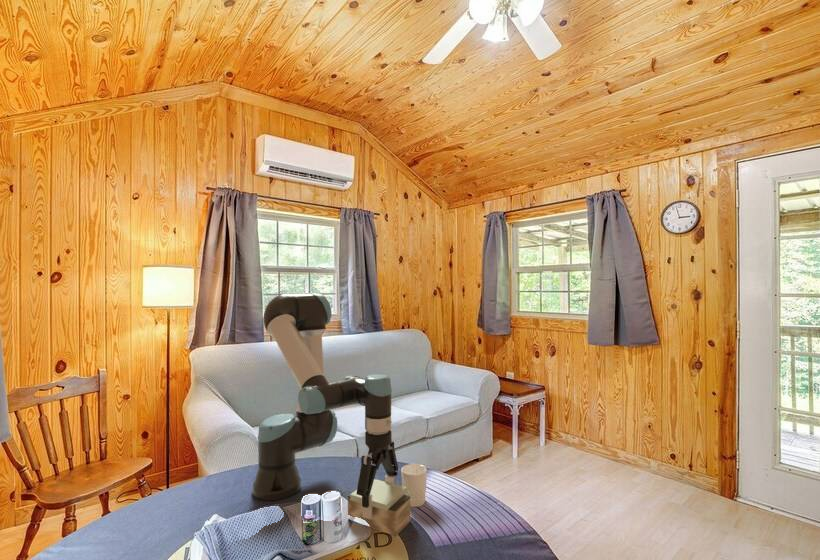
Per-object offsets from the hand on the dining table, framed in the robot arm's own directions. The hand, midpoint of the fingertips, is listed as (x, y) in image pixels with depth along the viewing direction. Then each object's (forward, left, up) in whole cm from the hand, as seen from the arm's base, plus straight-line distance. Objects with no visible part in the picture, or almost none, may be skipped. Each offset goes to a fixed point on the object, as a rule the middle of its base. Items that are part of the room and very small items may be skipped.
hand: (378, 507), depth 118 cm
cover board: (0, 0, +3) cm, 3 cm away
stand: (0, 0, -4) cm, 4 cm away
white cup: (+4, +14, -4) cm, 15 cm away
